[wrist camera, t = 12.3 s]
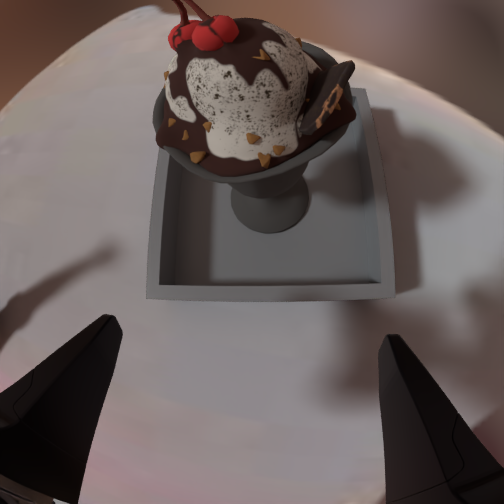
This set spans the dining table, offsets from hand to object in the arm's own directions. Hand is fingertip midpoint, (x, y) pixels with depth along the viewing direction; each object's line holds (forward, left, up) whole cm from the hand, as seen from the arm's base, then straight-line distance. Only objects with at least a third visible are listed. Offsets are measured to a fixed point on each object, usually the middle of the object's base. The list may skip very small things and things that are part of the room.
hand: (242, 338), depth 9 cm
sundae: (+8, 0, -9) cm, 12 cm away
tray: (+8, 0, -9) cm, 12 cm away
